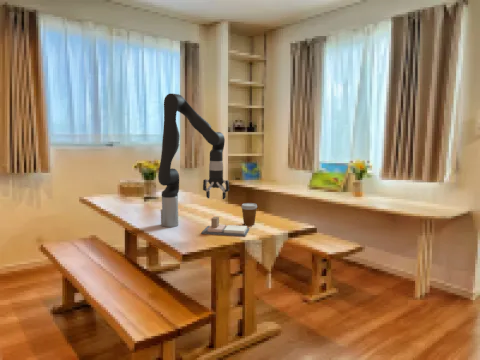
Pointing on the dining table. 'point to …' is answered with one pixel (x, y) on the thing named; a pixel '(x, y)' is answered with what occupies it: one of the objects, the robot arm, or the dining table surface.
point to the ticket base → (229, 231)
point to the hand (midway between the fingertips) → (216, 198)
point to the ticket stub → (216, 225)
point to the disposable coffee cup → (249, 213)
